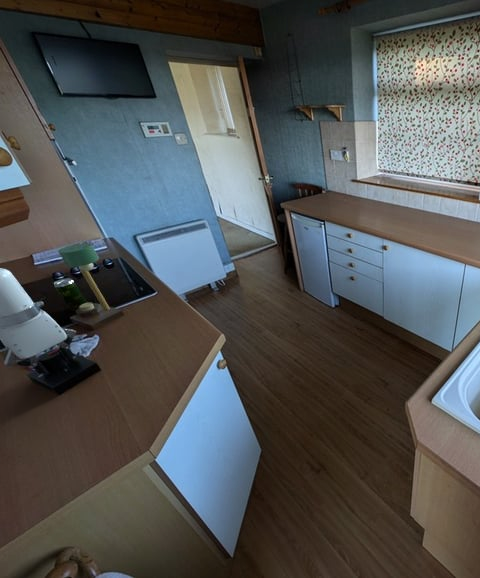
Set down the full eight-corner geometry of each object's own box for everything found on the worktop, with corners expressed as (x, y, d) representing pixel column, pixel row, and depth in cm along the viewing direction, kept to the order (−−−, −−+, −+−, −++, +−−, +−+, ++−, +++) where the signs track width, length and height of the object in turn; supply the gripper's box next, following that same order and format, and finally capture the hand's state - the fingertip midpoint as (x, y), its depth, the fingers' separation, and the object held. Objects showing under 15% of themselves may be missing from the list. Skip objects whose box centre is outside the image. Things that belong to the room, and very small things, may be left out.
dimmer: (33, 382, 83) (26, 374, 82) (75, 358, 91) (69, 351, 90) (59, 395, 79) (52, 387, 78) (101, 369, 87) (95, 362, 86)
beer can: (76, 304, 118) (59, 278, 112) (91, 303, 119) (75, 277, 113) (67, 312, 114) (48, 285, 108) (82, 310, 114) (65, 284, 108)
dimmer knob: (53, 373, 82) (42, 361, 80) (43, 370, 83) (33, 357, 81) (71, 363, 86) (62, 350, 83) (62, 359, 87) (53, 347, 84)
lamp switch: (79, 310, 108) (77, 306, 107) (90, 305, 111) (88, 301, 110) (85, 312, 107) (83, 308, 106) (96, 307, 110) (94, 303, 109)
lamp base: (72, 322, 108) (66, 313, 106) (102, 308, 116) (97, 299, 114) (94, 330, 104) (88, 321, 102) (124, 314, 112) (119, 306, 110)
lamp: (93, 314, 105) (52, 250, 92) (117, 303, 111) (82, 241, 99) (107, 319, 102) (67, 254, 90) (131, 307, 109) (97, 244, 96)
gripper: (51, 296, 83) (85, 344, 92) (-40, 331, 70) (10, 384, 79) (66, 301, 81) (100, 350, 90) (-26, 338, 67) (25, 392, 76)
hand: (58, 365), depth 84 cm, fingers open, 5 cm apart
